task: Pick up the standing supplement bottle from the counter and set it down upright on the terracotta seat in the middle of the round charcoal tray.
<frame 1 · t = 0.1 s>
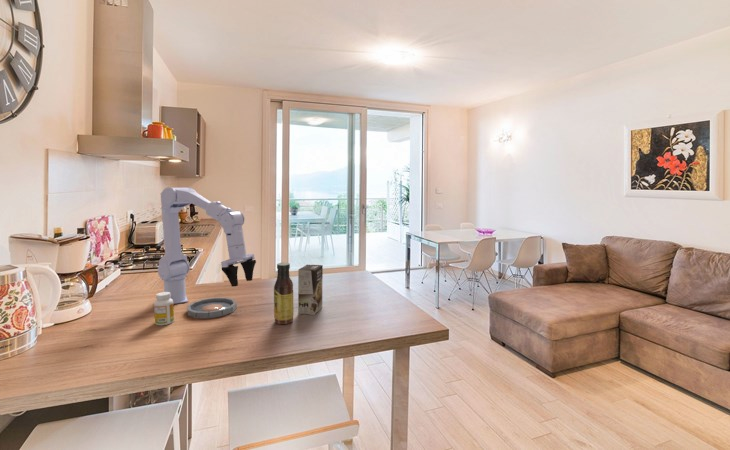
hand: (242, 283, 122), 10 cm above the counter, tool pointing down, fingers open, 7 cm apart
sauce bottle: (283, 322, 115), on the counter
supplement bottle: (164, 323, 112), on the counter
round tray: (212, 309, 124), on the counter
coffee box: (310, 310, 126), on the counter
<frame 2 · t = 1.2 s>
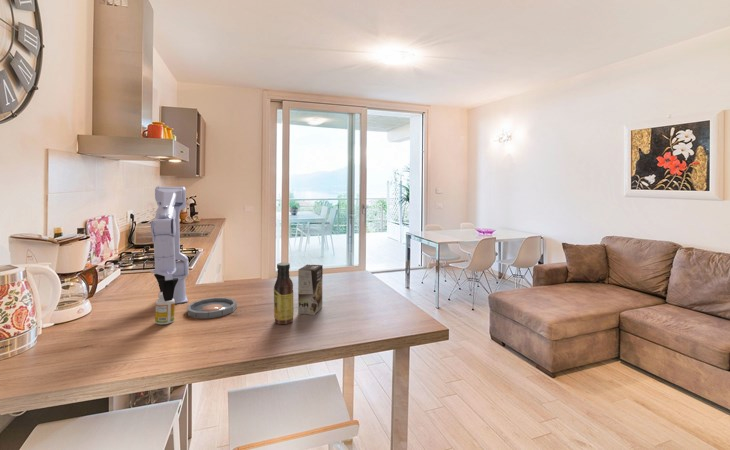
hand: (166, 297, 111), 8 cm above the counter, tool pointing down, fingers open, 7 cm apart
nothing on the counter moved.
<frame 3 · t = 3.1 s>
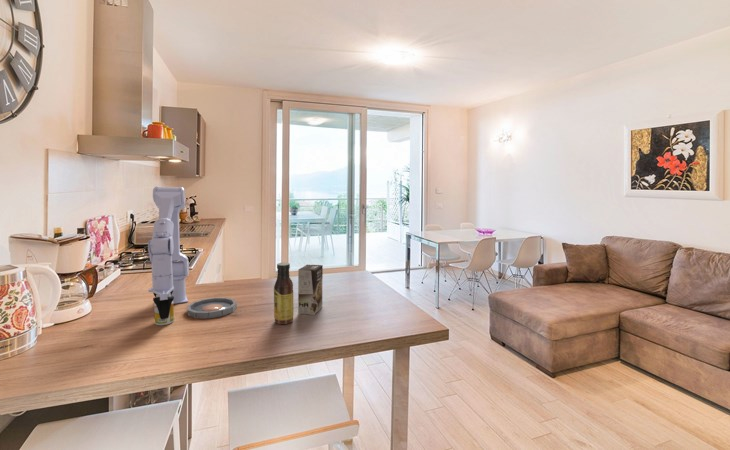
hand: (164, 315, 112), 2 cm above the counter, tool pointing down, fingers closed on supplement bottle, 5 cm apart
supplement bottle: (164, 323, 112), on the counter, touching gripper
everything else where it was.
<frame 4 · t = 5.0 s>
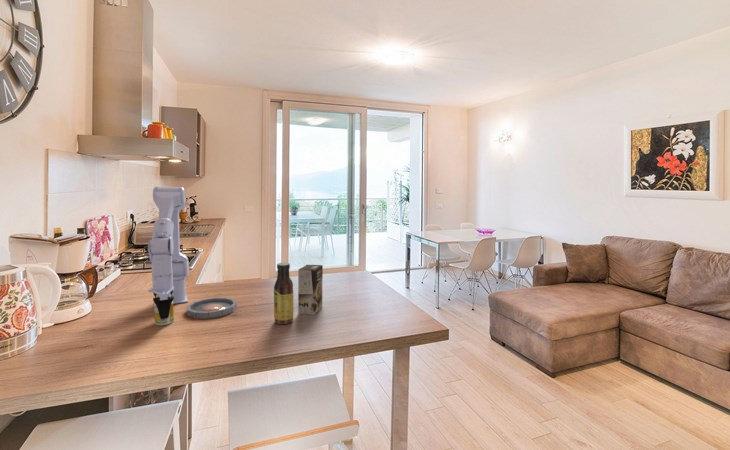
hand: (164, 315, 112), 2 cm above the counter, tool pointing down, fingers closed on supplement bottle, 5 cm apart
supplement bottle: (164, 323, 112), on the counter, touching gripper
everything else where it was.
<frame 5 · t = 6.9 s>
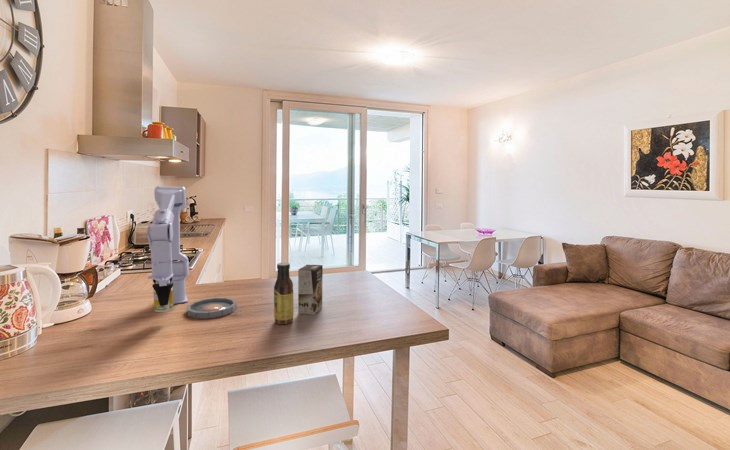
hand: (163, 302, 112), 7 cm above the counter, tool pointing down, fingers closed on supplement bottle, 5 cm apart
supplement bottle: (164, 310, 112), point 4 cm above the counter, touching gripper
everything else where it was.
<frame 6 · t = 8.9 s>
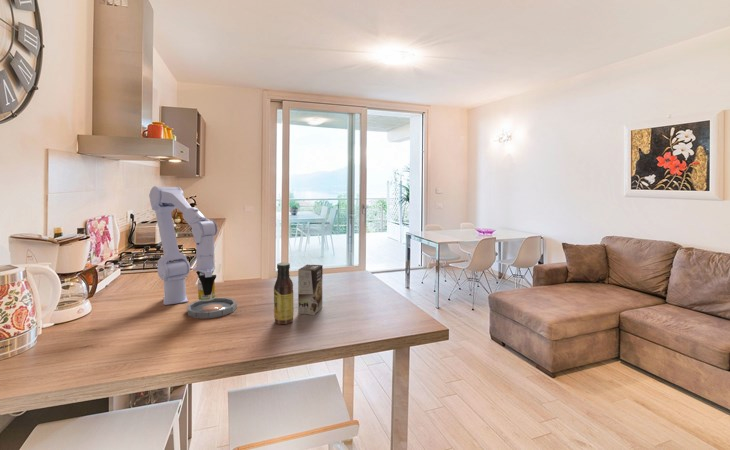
hand: (206, 292, 122), 7 cm above the counter, tool pointing down, fingers closed on supplement bottle, 5 cm apart
supplement bottle: (206, 299, 122), point 4 cm above the counter, touching gripper
everything else where it was.
when the fingers open (4 cm above the counter, at t = 10.7 s): supplement bottle stays where it is, resting on round tray.
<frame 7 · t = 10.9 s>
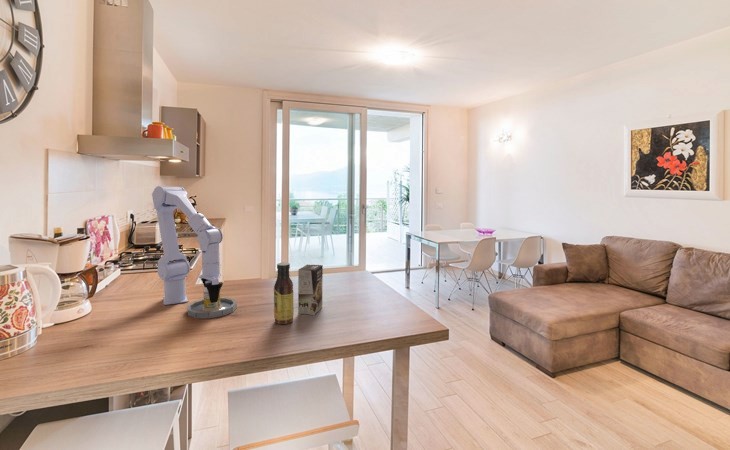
hand: (212, 299, 124), 4 cm above the counter, tool pointing down, fingers open, 6 cm apart
supplement bottle: (212, 307, 124), point 1 cm above the counter, touching round tray
everything else where it was.
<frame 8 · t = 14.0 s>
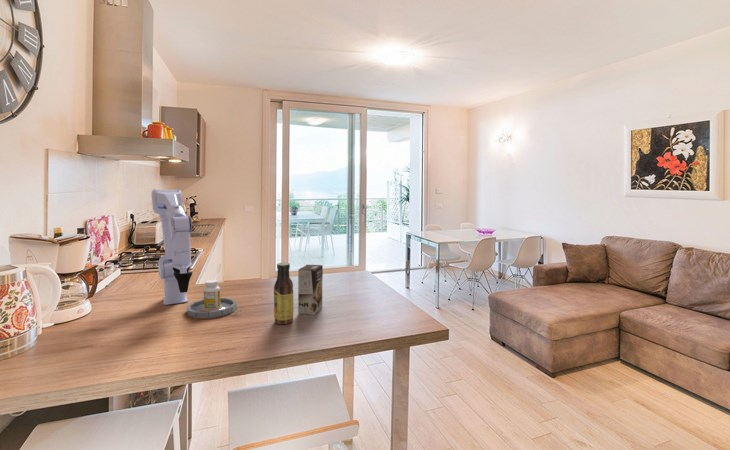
hand: (183, 289, 120), 8 cm above the counter, tool pointing down, fingers open, 7 cm apart
nothing on the counter moved.
at the end: supplement bottle inside the target area on the round tray (0.1 cm from its centre), point 0.7 cm above the round tray's base; supplement bottle tilted 0°; the gripper is holding nothing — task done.
